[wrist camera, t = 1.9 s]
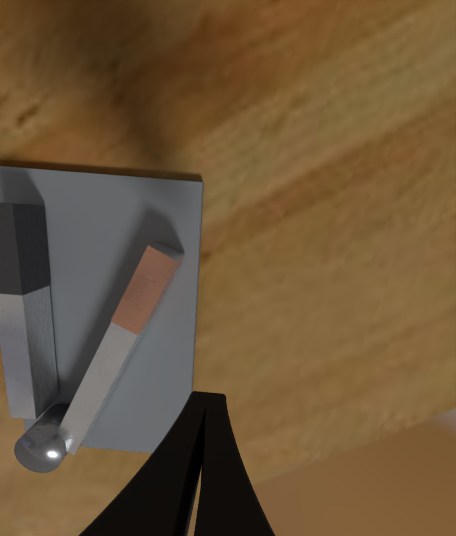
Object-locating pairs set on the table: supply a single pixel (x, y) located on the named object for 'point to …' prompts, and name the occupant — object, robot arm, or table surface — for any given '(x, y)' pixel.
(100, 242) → the slate mat
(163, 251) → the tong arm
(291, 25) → the table surface
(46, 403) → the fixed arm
